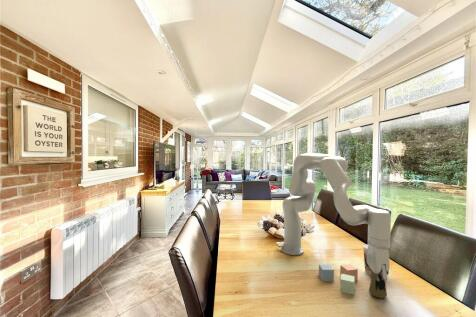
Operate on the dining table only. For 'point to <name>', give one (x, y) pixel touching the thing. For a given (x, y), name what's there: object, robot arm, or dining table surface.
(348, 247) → the dining table surface
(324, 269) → the slate cube
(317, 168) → the robot arm
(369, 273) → the coffee cup
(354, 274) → the terracotta cube
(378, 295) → the cork
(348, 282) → the sage cube
